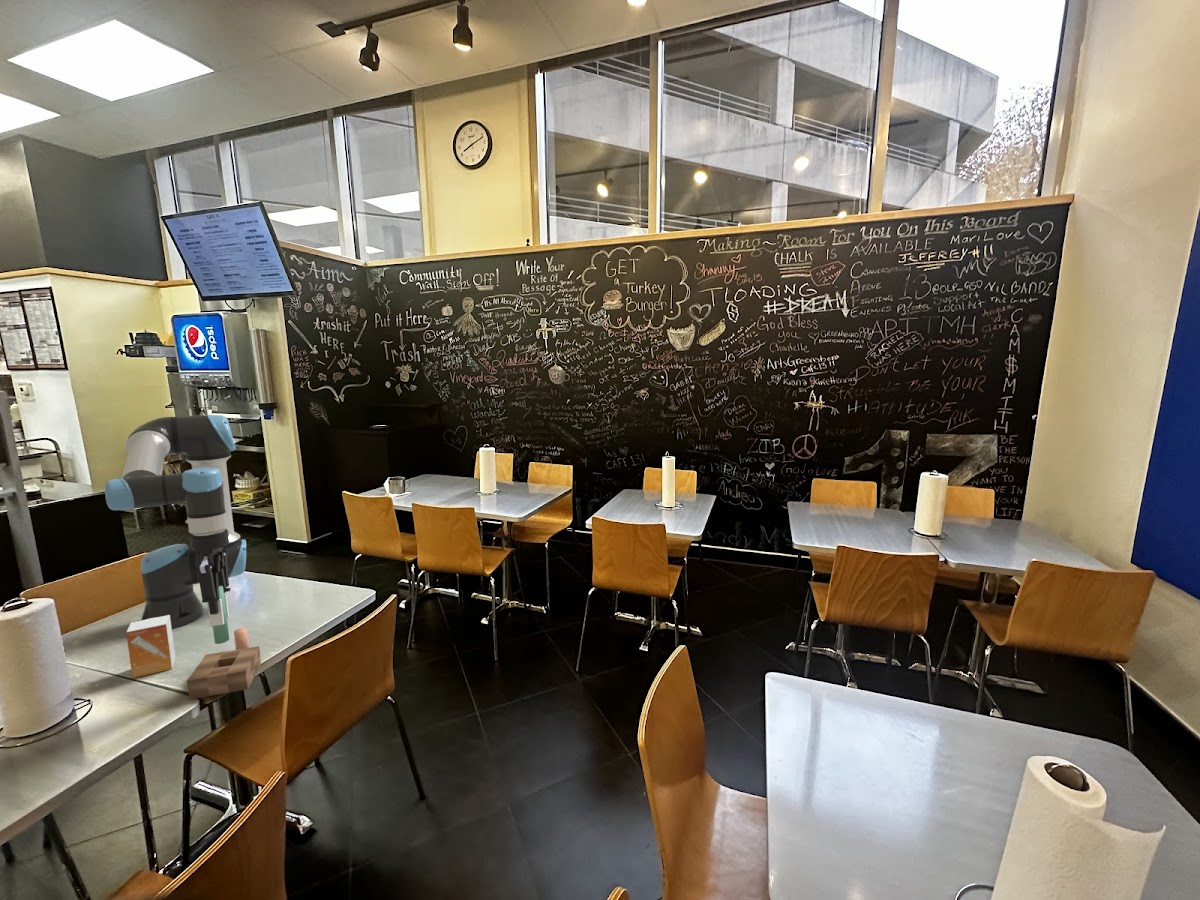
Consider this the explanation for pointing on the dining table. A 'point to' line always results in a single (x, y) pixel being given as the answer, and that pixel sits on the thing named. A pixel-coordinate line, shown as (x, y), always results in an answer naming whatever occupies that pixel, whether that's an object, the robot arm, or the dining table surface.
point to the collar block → (224, 672)
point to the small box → (150, 646)
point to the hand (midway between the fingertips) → (219, 621)
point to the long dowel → (222, 630)
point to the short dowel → (241, 638)
